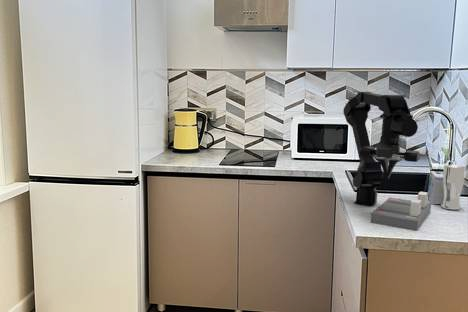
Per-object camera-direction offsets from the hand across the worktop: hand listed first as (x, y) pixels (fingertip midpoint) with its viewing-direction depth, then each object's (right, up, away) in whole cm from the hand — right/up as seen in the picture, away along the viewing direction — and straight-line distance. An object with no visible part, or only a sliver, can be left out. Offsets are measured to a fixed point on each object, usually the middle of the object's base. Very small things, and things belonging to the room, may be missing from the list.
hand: (386, 178), depth 155 cm
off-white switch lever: (+6, -11, -10) cm, 16 cm away
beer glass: (+26, -11, +10) cm, 30 cm away
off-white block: (+12, -9, 0) cm, 15 cm away
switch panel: (+4, -13, -2) cm, 13 cm away
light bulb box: (+26, -10, +18) cm, 33 cm away
